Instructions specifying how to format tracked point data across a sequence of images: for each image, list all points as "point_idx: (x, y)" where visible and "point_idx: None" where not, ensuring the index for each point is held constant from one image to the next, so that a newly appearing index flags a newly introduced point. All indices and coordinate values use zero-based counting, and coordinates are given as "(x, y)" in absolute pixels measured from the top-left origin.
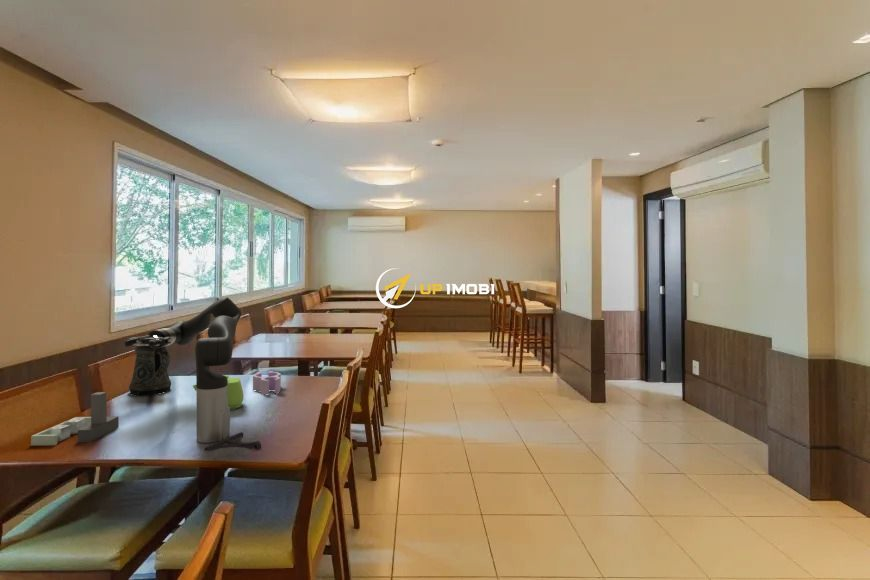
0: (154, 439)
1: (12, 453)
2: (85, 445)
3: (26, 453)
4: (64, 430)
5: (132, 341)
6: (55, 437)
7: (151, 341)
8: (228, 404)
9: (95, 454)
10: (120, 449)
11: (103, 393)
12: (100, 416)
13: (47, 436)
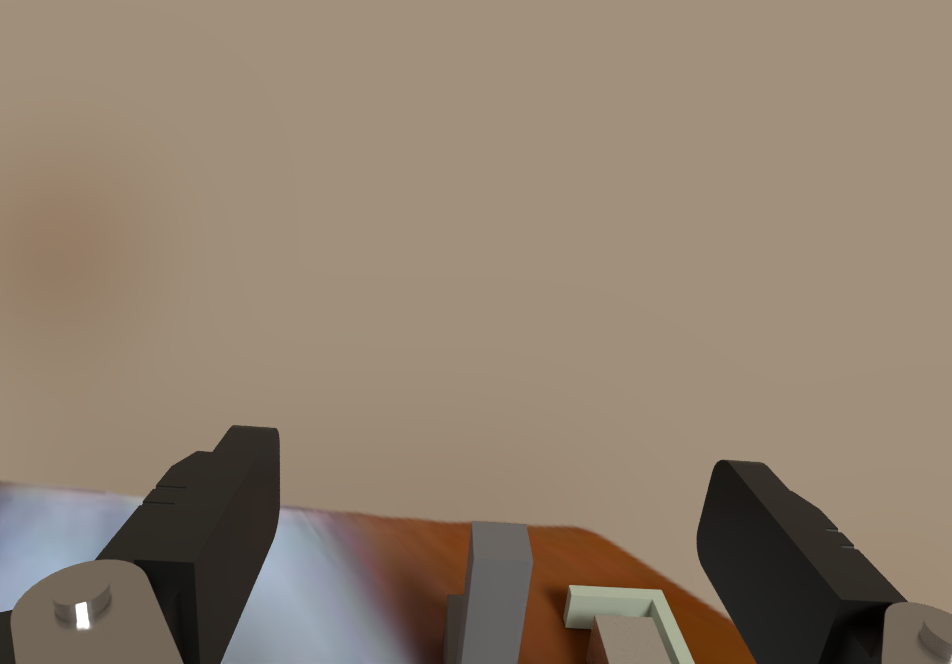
0: None
1: (635, 566)
2: (437, 607)
3: (588, 562)
4: (597, 645)
5: (808, 621)
6: (568, 595)
7: (231, 443)
8: None
9: (347, 537)
10: (277, 563)
11: (473, 541)
12: (460, 627)
13: (596, 588)
